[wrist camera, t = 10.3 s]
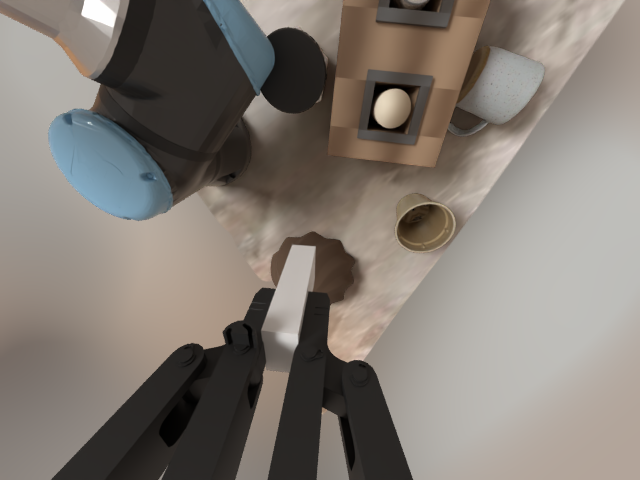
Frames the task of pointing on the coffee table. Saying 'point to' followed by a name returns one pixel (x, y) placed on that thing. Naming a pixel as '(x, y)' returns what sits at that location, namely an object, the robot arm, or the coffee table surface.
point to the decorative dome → (320, 264)
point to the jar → (295, 71)
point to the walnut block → (401, 75)
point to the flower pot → (423, 224)
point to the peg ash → (390, 108)
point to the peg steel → (408, 4)
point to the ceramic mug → (497, 86)
